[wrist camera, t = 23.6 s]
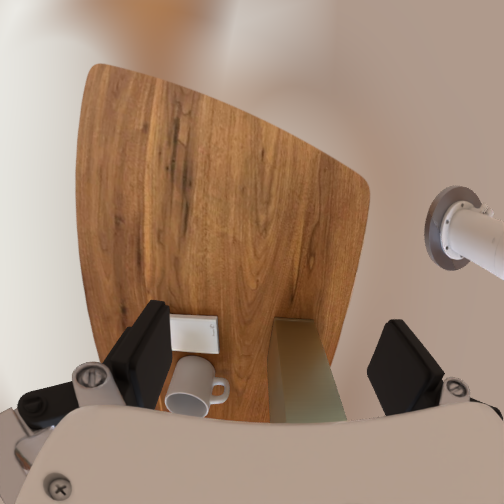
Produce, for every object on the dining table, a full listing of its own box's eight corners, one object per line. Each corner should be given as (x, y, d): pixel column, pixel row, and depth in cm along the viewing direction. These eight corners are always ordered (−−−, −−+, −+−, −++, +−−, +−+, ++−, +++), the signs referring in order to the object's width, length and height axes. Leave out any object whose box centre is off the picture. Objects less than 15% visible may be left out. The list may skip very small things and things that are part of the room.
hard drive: (216, 319, 48) (151, 316, 48) (218, 354, 50) (158, 350, 50) (217, 315, 49) (154, 311, 49) (219, 349, 52) (160, 345, 52)
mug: (180, 382, 55) (170, 418, 45) (172, 354, 52) (159, 390, 42) (233, 383, 55) (230, 421, 44) (229, 355, 52) (224, 393, 42)
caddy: (274, 316, 49) (288, 439, 24) (313, 319, 49) (351, 435, 24) (266, 359, 52) (272, 475, 27) (302, 361, 53) (325, 472, 27)
